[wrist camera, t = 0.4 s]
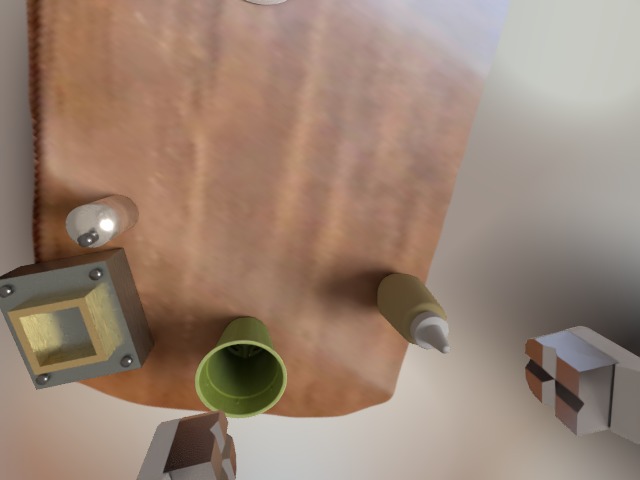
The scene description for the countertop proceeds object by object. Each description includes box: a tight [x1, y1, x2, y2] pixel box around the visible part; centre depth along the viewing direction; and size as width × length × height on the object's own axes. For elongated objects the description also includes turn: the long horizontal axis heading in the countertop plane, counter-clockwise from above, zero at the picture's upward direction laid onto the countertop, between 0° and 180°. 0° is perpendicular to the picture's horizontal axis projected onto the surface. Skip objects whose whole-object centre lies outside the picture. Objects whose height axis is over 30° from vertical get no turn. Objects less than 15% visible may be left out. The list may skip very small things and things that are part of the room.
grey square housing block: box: [0, 248, 154, 390], centre depth 49 cm, size 16×14×8 cm
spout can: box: [66, 195, 139, 247], centre depth 45 cm, size 5×5×11 cm
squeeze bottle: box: [377, 273, 450, 353], centre depth 51 cm, size 8×8×18 cm
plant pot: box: [195, 317, 287, 418], centre depth 53 cm, size 12×12×11 cm
